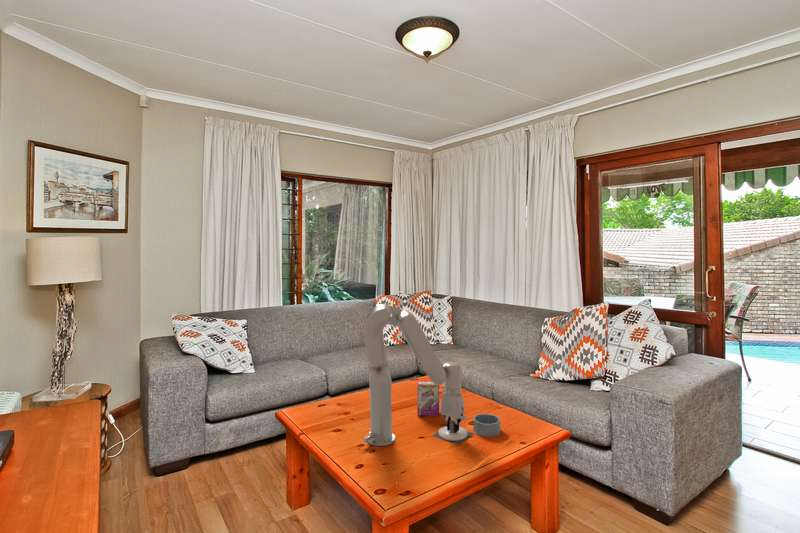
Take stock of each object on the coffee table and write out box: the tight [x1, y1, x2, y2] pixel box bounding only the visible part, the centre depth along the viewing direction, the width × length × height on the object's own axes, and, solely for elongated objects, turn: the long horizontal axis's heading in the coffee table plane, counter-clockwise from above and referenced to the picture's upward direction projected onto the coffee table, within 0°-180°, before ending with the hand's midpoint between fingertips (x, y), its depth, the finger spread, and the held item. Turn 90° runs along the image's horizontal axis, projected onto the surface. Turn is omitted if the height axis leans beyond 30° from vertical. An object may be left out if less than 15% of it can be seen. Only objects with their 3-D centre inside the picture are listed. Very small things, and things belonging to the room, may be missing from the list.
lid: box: [438, 419, 469, 441], centre depth 187 cm, size 13×13×6 cm
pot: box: [472, 413, 501, 438], centre depth 191 cm, size 12×12×6 cm
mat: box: [431, 430, 476, 446], centre depth 188 cm, size 14×14×1 cm
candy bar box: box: [417, 381, 440, 417], centre depth 212 cm, size 11×5×16 cm, turn 84°
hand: (453, 430), depth 187 cm, fingers closed on lid, 3 cm apart
